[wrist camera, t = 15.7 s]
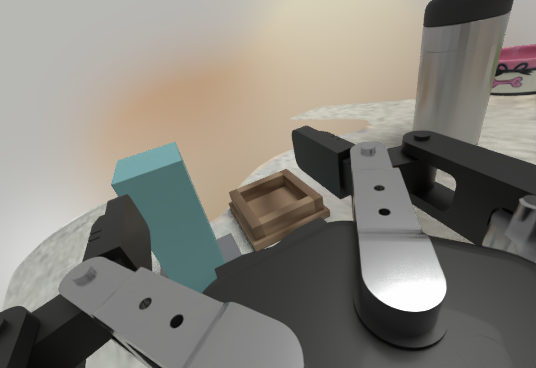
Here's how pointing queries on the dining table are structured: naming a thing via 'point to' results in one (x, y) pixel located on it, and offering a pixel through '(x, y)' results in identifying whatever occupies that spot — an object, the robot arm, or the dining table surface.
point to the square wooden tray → (275, 207)
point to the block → (171, 215)
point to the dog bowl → (515, 71)
